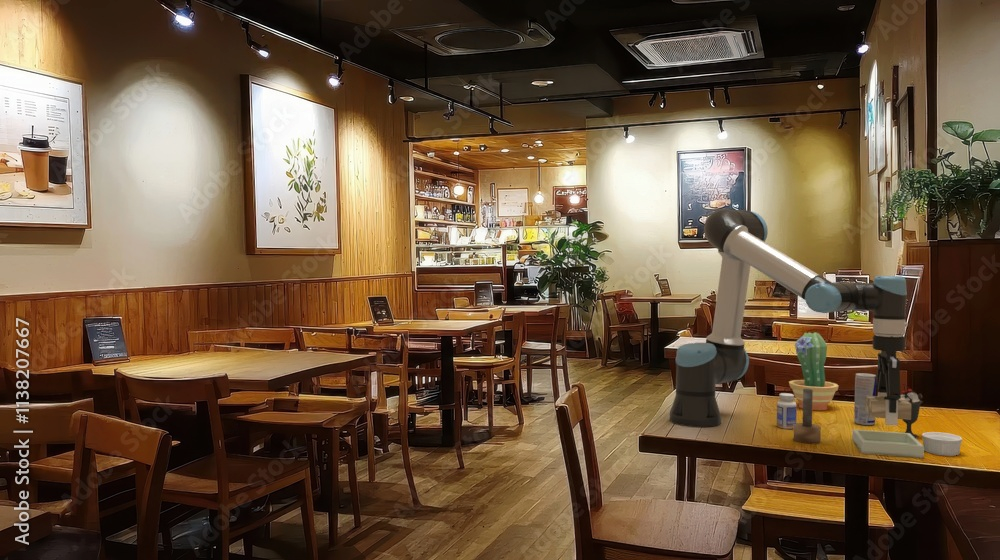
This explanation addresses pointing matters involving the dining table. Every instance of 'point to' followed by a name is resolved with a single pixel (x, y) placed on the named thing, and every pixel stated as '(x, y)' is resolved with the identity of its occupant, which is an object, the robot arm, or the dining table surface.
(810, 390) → the stake
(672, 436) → the dining table surface
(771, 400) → the dining table surface
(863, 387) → the beverage can
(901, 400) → the ring
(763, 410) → the dining table surface
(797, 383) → the potted cactus
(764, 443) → the dining table surface
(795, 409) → the pill bottle
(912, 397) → the sundae
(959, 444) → the ramekin
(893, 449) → the tray
